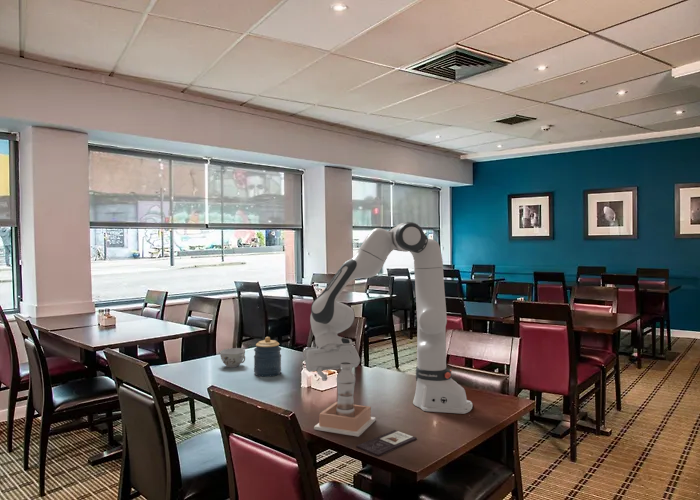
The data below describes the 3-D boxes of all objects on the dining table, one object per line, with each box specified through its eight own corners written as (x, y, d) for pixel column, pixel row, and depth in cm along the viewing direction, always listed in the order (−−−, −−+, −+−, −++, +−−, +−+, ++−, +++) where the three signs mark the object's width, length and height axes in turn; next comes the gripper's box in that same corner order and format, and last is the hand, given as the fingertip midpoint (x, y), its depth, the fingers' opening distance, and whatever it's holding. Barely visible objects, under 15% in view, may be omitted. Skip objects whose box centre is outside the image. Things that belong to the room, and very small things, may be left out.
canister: (286, 373, 234) (286, 336, 234) (263, 378, 226) (263, 340, 225) (271, 368, 244) (271, 333, 244) (248, 373, 235) (248, 336, 235)
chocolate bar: (356, 445, 149) (395, 430, 162) (356, 448, 149) (395, 432, 162) (378, 454, 143) (416, 437, 155) (378, 458, 143) (416, 440, 155)
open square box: (375, 420, 172) (375, 406, 172) (358, 436, 157) (358, 421, 157) (334, 414, 178) (334, 400, 178) (314, 429, 164) (314, 414, 164)
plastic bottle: (343, 416, 173) (343, 360, 172) (358, 421, 168) (359, 363, 168) (331, 422, 168) (331, 363, 167) (347, 426, 163) (347, 366, 163)
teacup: (214, 367, 247) (214, 351, 247) (233, 362, 258) (233, 346, 258) (235, 371, 239) (235, 354, 239) (253, 366, 249) (253, 350, 249)
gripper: (303, 343, 177) (311, 376, 169) (355, 339, 185) (365, 371, 176) (299, 352, 182) (307, 386, 173) (350, 348, 189) (360, 380, 181)
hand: (337, 378), depth 175 cm, fingers open, 8 cm apart
